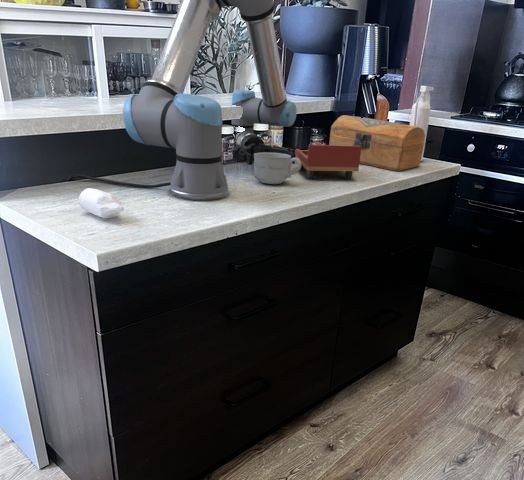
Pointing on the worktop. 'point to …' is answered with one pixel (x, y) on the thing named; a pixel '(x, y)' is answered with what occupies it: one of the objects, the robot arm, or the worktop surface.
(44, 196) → the worktop surface
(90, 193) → the roll
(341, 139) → the wooden box
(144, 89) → the robot arm
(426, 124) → the white spray bottle
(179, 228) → the worktop surface
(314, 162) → the cart
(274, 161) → the teacup
